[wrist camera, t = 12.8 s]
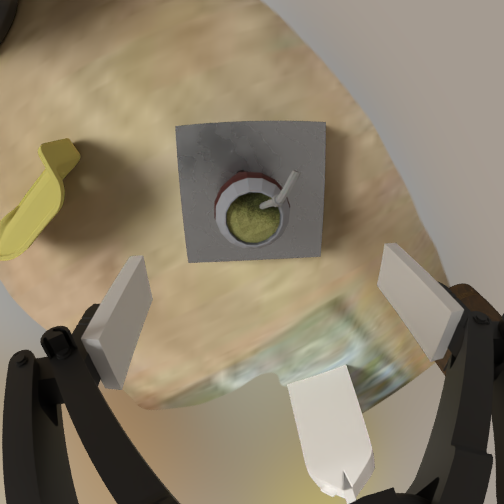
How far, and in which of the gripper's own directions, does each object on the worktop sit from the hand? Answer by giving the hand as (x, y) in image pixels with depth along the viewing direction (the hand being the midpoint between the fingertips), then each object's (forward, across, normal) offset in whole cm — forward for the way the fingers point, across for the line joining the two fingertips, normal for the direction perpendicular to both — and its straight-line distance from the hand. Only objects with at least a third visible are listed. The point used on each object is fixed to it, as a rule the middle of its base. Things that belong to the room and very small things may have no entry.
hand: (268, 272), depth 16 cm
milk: (+22, +13, -41) cm, 48 cm away
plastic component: (+23, -29, 0) cm, 37 cm away
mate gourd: (+18, 0, 0) cm, 19 cm away
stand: (+22, 0, -1) cm, 22 cm away
